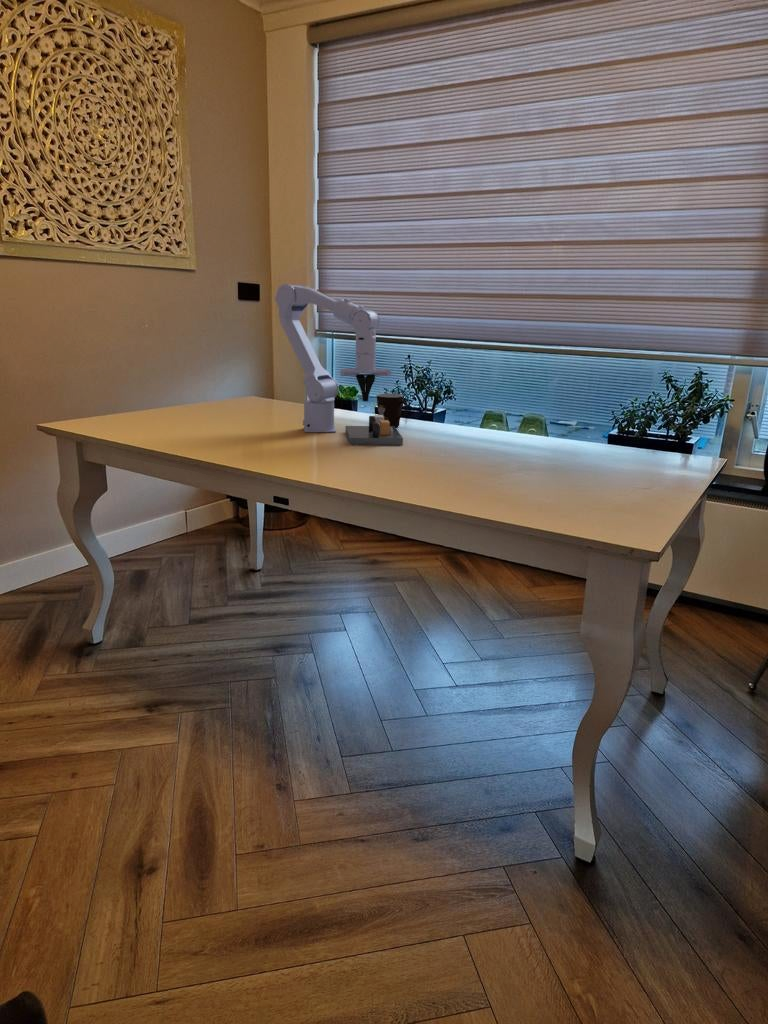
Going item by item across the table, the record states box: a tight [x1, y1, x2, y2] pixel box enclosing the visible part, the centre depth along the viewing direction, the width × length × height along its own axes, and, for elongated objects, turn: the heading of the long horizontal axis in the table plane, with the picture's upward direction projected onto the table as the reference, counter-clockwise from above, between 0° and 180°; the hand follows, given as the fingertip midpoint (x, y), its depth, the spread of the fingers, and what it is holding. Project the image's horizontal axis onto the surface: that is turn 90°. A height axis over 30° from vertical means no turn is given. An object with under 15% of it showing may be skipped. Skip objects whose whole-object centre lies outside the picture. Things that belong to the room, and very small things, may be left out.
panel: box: [345, 415, 404, 446], centre depth 194 cm, size 15×18×6 cm
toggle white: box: [374, 414, 384, 423], centre depth 200 cm, size 2×4×4 cm, turn 7°
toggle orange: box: [380, 420, 390, 435], centre depth 191 cm, size 2×4×4 cm, turn 7°
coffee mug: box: [376, 392, 409, 428], centre depth 211 cm, size 12×9×10 cm
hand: (365, 401), depth 195 cm, fingers closed
